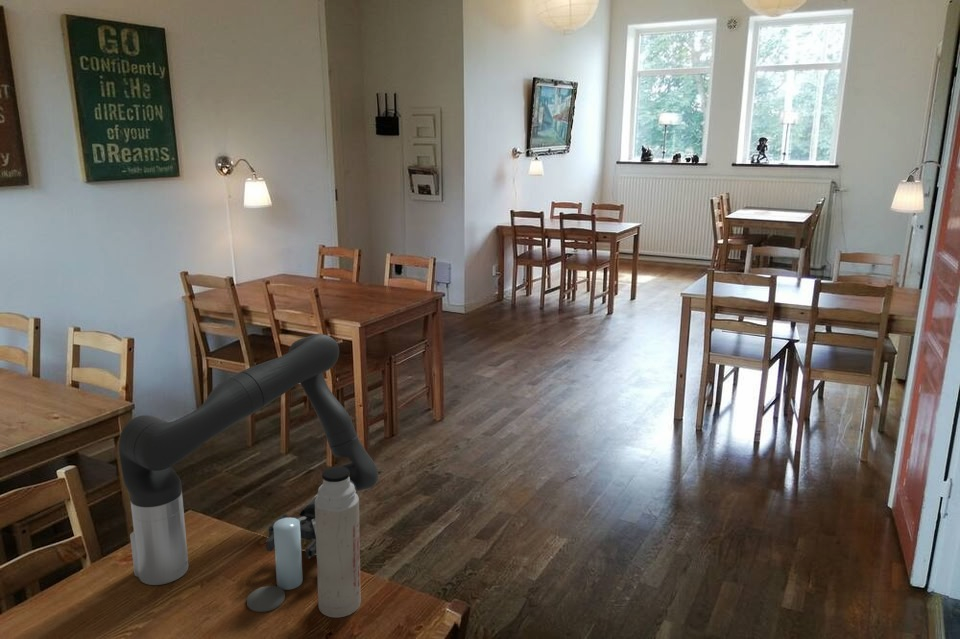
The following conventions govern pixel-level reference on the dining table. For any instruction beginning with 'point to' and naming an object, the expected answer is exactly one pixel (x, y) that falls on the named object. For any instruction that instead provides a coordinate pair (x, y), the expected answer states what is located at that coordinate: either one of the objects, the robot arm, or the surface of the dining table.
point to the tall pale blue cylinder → (288, 553)
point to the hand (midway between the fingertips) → (287, 550)
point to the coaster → (265, 599)
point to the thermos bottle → (337, 544)
